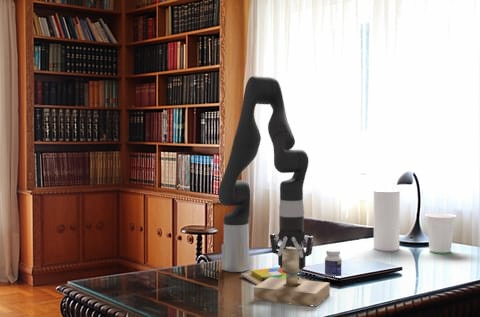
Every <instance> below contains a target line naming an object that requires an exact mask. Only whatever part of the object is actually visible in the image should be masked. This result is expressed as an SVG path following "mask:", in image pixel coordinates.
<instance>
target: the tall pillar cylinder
mask: <svg viewBox="0 0 480 317" xmlns="http://www.w3.org/2000/svg"><path fill="white" fill-rule="evenodd" d="M400 192H401V191H400V190H399V189H393V188H391V189H390V188H379V189H374V190H373V249H374V250H376V251H383V252H393V251H399V250H400V197H401V196H400Z"/></svg>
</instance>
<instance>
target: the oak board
mask: <svg viewBox="0 0 480 317" xmlns="http://www.w3.org/2000/svg"><path fill="white" fill-rule="evenodd" d="M330 284H331V283H330V282H327V281H325V282H324V281H315V280H309V281H307V280H298V283H296V284H288V283H286V278H276V277H270V278H268V279H266V280H265V281H263V282H261V283H260V284H258V285H256V284H255V286H254V287H253V300H254V301H259V300H262V301H261V302H268V301H269V303H270V302H271V303H276V302H277V303H279V304H285V303H291V304H290V305H294V304H297V305H296V306H303V305H313V306H316V305H318V304H319V303H320V302H321V301H322V302H323V301H325V300H326V299H327V298H328V297H329V296H330V294H331V293H330V289H331V288H330V287H331V286H330ZM325 298H326V299H325ZM324 299H325V300H324ZM322 302H321V303H322ZM277 303H276V304H277ZM321 303H320V304H321ZM320 304H319V305H320ZM319 305H318V306H319Z"/></svg>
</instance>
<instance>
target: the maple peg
mask: <svg viewBox="0 0 480 317" xmlns="http://www.w3.org/2000/svg"><path fill="white" fill-rule="evenodd" d="M299 258H300V255H299V251H297V250H296V248H294V247H287V248H285V249H282V272H284V273H286V283H288V284H296V283H298V274H299V273H302V270H301V269H299Z"/></svg>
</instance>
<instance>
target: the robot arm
mask: <svg viewBox="0 0 480 317" xmlns="http://www.w3.org/2000/svg"><path fill="white" fill-rule="evenodd" d="M256 105H270V107H271V109H272V114H271V116H270V119H269V120H268V124H267V131H268V136H269V137H270V141H271V143H272V147H273V165H274V168H275V169H276V170H277V172H279V173H281V174H289V173H293V175H292V177H291V178H288V179H287V180H283V181H281V182H280V185H279V206H278V207H279V208H278V209H279V210H278V211H279V216H278V217H279V218H278V219H279V232H278V233H274V232H273V233H272V234H270V235H269V238H270V239H269V240H270V246H271V253H272V254H276V255H277V260H278V262H277V264H278V267H280V268H282V249H285V248H287V247H294V248H296V250H297V251H299V255H300V258H299V269H301V271H302V270H303V269H305V267H306V257H309V256H311V255H312V253H313V246H314V241H315V240H314V239H315V237H314V236H313V235H311V236H310V235H306V233H305V231H304V230H305V216H304V215H305V209H304V208H305V207H304V195H303V194H304V191H303V190H304V189H303V188H304V184H305V178H306V174H307V171H308V167H309V157H308V154H307V152H306V151H305V150H304V149H303V150H302V149H293V147H294V146H295V144H296V140H295V137H294V134H293V132H292V128H291V127H290V123H289V121H288V118H287V113H286V107H285V102H284V97H283V93H282V86H281V85H280V82H279V80H278V79H277V78H275V77H270V76H269V77H268V76H258V75H254V76H253V75H252V76H250V77H248V80H247V82H246V85H245V88H244V93H243V99H242V107H241V110H240V116H239V120H238V124H237V127H236V131H235V135H234V138H233V140H232V146H231V150H230V154H229V158H228V162H227V164H226V167H225V170H224V173H223V176H222V178H221V181H220V184H219V187H218V194H217V196H218V201H219V203H220V204H221V205H222V206H225V207H226V206H229V207H231V206H234V209H233V210H232V211H231V212H229V213H226V215H224V216H223V243H222V244H221V270H222V271H226V272H228V273H229V272H230V273H238V272H239V273H241V272H247V271H249V270H250V268H249V266H250V261H249V260H250V256H249V254H250V252H249V251H250V250H249V242H250V241H249V238H250V237H249V218H250V213H251V208H250V207H251V189H250V188H251V187H250V184H249V182H247V181H246V180H244V179H239V177H240V175H241V174H242V173H243V172H244V171H245V169H247V167H248V166H249V165H250V164H251V163H252V162H253V161H254V160H255V158H256V156H257V154H258V151H259V148H260V145H261V140H262V137H261V136H262V135H261V132H260V129H259V126H258V124H257V122H256V119H255V109H256ZM279 239H280V241H281V244H280V245H279V244H278V240H279ZM304 240H305V243H306V247H304V245H303V242H304Z"/></svg>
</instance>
